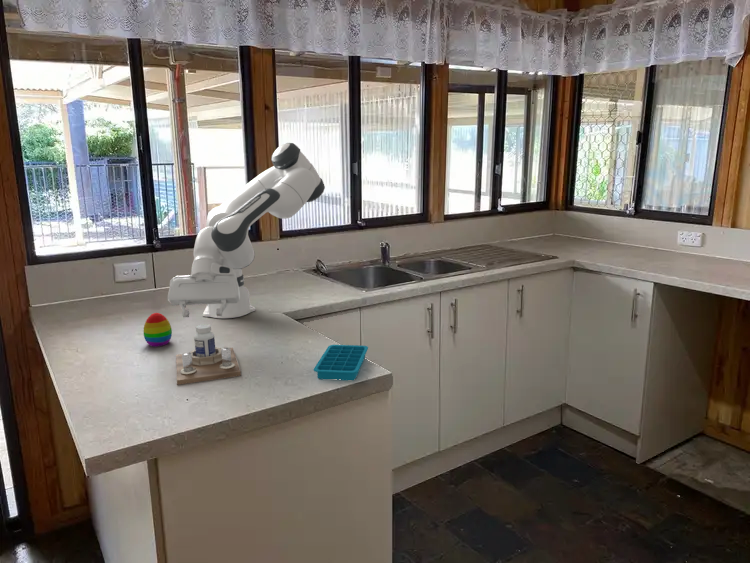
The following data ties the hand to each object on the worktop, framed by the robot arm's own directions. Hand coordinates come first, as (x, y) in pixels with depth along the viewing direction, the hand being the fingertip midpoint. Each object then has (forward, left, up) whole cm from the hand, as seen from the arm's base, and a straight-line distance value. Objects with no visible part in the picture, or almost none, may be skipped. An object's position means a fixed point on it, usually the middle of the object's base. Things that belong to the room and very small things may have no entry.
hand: (202, 315), depth 160 cm
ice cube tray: (+22, +35, -13) cm, 43 cm away
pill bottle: (+5, 0, -11) cm, 13 cm away
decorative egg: (-18, -13, -13) cm, 25 cm away
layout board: (+8, 0, -12) cm, 15 cm away
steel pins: (+13, 0, -11) cm, 17 cm away
